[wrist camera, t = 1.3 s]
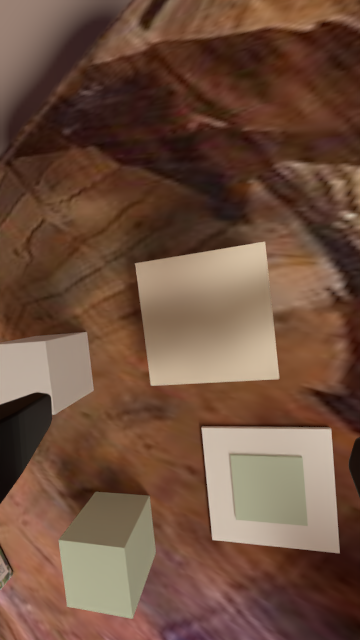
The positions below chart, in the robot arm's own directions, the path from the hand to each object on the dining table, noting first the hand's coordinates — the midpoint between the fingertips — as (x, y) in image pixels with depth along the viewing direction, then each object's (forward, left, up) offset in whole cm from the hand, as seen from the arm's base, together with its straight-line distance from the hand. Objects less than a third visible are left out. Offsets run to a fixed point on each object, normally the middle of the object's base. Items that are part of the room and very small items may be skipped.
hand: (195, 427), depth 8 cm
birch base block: (+3, +1, -13) cm, 13 cm away
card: (-10, -2, -13) cm, 17 cm away
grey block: (0, +14, -13) cm, 19 cm away
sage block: (-14, +10, -13) cm, 22 cm away
